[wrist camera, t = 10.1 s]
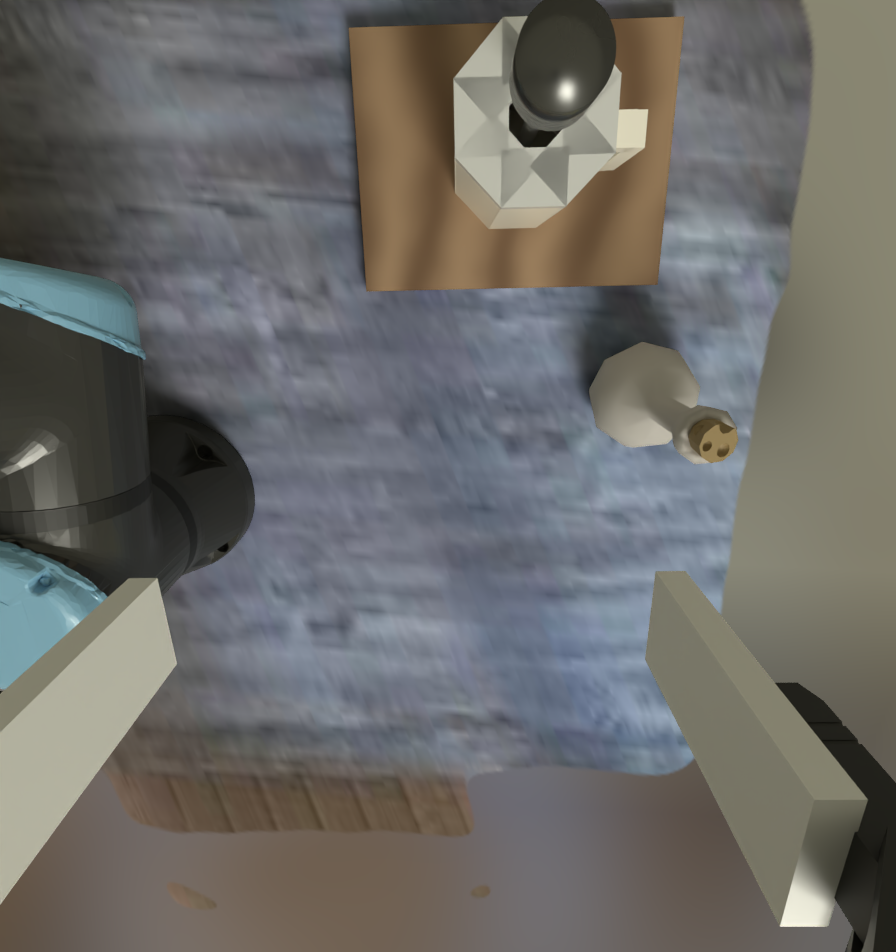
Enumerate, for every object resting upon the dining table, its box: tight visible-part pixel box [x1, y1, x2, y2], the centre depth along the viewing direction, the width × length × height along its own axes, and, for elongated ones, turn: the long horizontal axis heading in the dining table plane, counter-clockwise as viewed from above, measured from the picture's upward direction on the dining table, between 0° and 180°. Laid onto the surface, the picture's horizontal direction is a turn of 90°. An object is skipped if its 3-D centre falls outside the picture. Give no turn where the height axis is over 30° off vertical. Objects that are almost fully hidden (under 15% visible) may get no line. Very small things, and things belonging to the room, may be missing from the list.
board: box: [349, 17, 684, 291], centre depth 43 cm, size 24×18×2 cm
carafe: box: [453, 16, 648, 229], centre depth 36 cm, size 12×9×13 cm
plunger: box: [509, 0, 616, 148], centre depth 31 cm, size 4×4×20 cm
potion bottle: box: [589, 342, 738, 464], centre depth 41 cm, size 9×9×18 cm
